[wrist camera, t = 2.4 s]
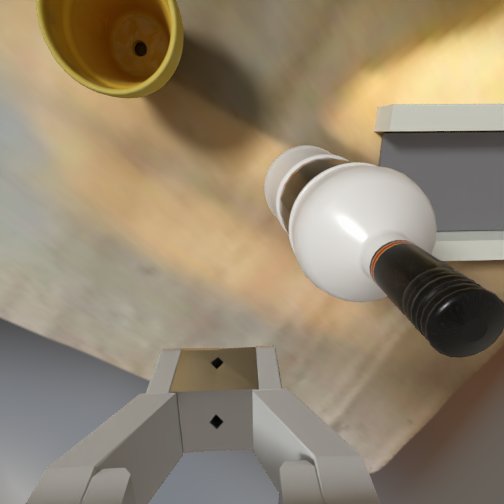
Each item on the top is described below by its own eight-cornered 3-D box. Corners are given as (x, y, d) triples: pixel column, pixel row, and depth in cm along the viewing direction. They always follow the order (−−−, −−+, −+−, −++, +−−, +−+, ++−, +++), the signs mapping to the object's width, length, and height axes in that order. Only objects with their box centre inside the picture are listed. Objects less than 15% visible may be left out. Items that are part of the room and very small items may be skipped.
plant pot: (153, 126, 35) (123, 124, 26) (71, 52, 33) (6, 21, 24) (215, 48, 33) (205, 16, 24) (132, -39, 30) (85, -114, 21)
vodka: (285, 130, 36) (447, 122, 8) (354, 166, 38) (691, 264, 10) (250, 204, 39) (280, 391, 11) (316, 234, 41) (491, 464, 12)
